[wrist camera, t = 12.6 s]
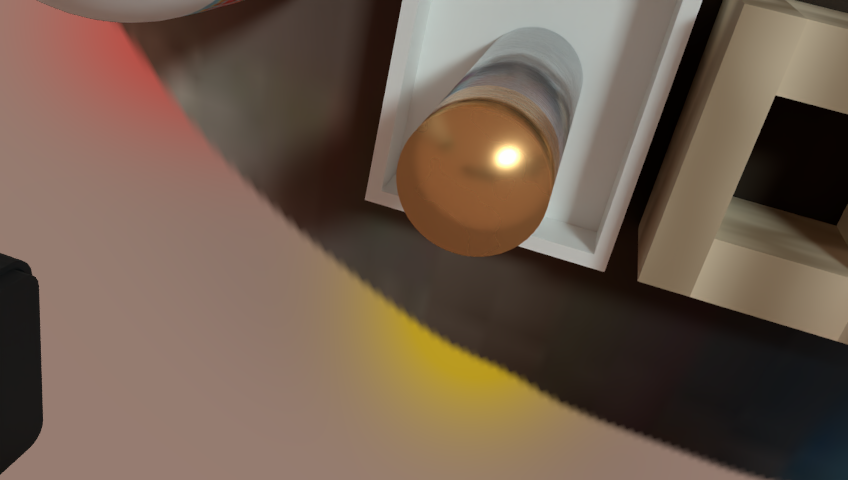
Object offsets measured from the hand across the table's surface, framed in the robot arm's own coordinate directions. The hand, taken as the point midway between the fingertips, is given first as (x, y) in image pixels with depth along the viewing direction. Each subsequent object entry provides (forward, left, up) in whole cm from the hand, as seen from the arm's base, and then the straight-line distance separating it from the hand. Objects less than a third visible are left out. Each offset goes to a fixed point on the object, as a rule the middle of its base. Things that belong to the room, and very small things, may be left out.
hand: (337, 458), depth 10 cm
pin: (0, 0, -23) cm, 23 cm away
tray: (0, 0, -24) cm, 24 cm away
